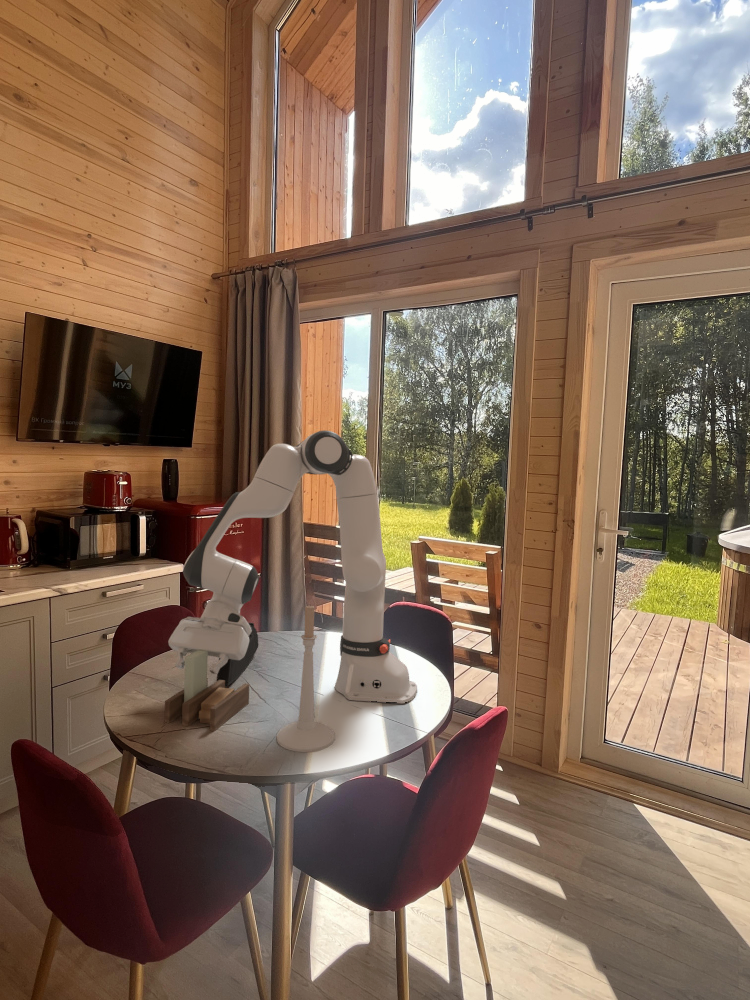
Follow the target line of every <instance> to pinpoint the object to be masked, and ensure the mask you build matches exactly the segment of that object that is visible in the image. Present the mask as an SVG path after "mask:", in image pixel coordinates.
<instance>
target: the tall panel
mask: <svg viewBox="0 0 750 1000" xmlns="http://www.w3.org/2000/svg"><path fill="white" fill-rule="evenodd" d="M208 657H209V656H208V651H203V650H197V651H195V652H193V653H189V654H187V655H186V656H184V661H185V666H184V678H183V679H184V684H183V686H184V688H183V690H184V703H185V702H186V701H188V700H189V699H191V698H192V697H194V696H195V695H197V694H198V693H200V692H201V691H203V690H204V689H206V688H207V687H208V686H207V678H208V662H209V661H208Z"/></svg>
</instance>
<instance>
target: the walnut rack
mask: <svg viewBox="0 0 750 1000" xmlns="http://www.w3.org/2000/svg"><path fill="white" fill-rule="evenodd" d="M208 679H209V678H208V677H207V688H206V689H204V690H203V691H201V692H200V693H198V694H197V695H195V696H194V697H192V698H191V699H189V700H188V701H186V702H185V703H184V689H182V690H181V691H179V692H177V693H176V694H174V695H173V696H171V697H169V698H168V699H166V700H164V723H166V722H167V724H169V723H171V722H173V721H174V720H176V719H177V718H179V717H180V716H181V726H184V727H189V726H191V725H192V724H193V723H195V722H196V721H197V720H200V718H199V711H200V710H201V703H202V702H203V701H204V700H205V699H207V698H208V697H209V696H210V695H211V694H212V693H213V692H215V691H216V690H217V689H218V688H219V687H221V688H226V687H225V680H218V681H217V680H216V681H217V682H216V681H215V682H214V683H212V684H210V685H209V686H208V683H209V681H208ZM249 704H250V684H249V683H243V684H242V685H241V686H239V687H238V688H237V689H236V690H235V689H234V692H232V693H231V694H230V695H228V696H227V697H226V698H224V699H223V700H221V701H220V702H219V703H217V704H216V705H215V706H213V707H212V708H210V723H209V731H212V732H216V731H217V730H218V729H219V728H221V727H222V726H223V725H224V724H226V723H227V722H228V721H229V720H231V718H233V717H234V716H235V715H236V714H238V713H239V712H240V711H241V710H243V709H244V708H246V706H247V705H249ZM181 714H182V715H181Z"/></svg>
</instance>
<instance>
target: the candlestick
mask: <svg viewBox="0 0 750 1000" xmlns="http://www.w3.org/2000/svg"><path fill="white" fill-rule="evenodd" d="M314 628H315V606H314V605H306V606H305V608H304V634H302V635H300V639H302V645H303V646H304V652H303V663H302V674H301V687H300V698H299V709H298V720H297V721H294V722H291V723H288V724H286V725H285V726H283V727H281V728H280V730H278V732H277V734H276V742H277V744H278V745H280V746H281V747H282V748H284V749H285V750H288V751H291V752H292V751H293V752H298V753H309V752H317V751H321V750H324V749H326V748H329V747H330V746H332V744H333V743H334V742H335V740H336V733H335V731H334V730H333V728H331V727H330V726H329V725H328V724H325V723H323V722H320V721H316V720H315V696H314V695H315V690H314V689H315V687H314V686H315V683H314V680H315V679H314V652H313V649H314V646H315V644H316V642H315V640H316V639H317V638H318V636H317V634H315V633H314V631H315V629H314Z"/></svg>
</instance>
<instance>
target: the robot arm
mask: <svg viewBox="0 0 750 1000" xmlns="http://www.w3.org/2000/svg"><path fill="white" fill-rule="evenodd" d="M305 474H306V475H307V474H309V475H328V476H330V478H331V479H332V481H333V484H334V486H335V497H336V504H337V505H336V507H337V514H338V521H339V523H338V524H339V535H340V539H339V541H340V555H341V569H342V576H343V578H344V580H345V589H344V598H343V599H344V601H343V606H342V607H343V609H342V610H343V611H342V613H343V614H342V615H343V616H342V634H341V636H340V641H339V652H340V654H339V656H340V664H339V668H338V669H339V670H338V674H337V678H336V681H335V683H334V688H335V690H336V691H337V692H338V693H340V694H341V695H343V696H344V697H345V699H346V700H349V701H357V702H358V701H359V702H371V701H377V702H376V703H386V702H397V703H396V704H406V703H405V702H407V703H409V702H411V701H412V700H413V699H414V698H415V697H416V696H417V694H416V693H418V685H417V684H416V682H414V681H411V680H410V673H409V669H408V667H407V665H406V664H405V663H404V662H403V661H401V660H400V659H399V658H398V657H396V656H395V655H394V654H393V653H392V652H391V651H390V645H391V638H390V639H387V638H385V636H384V635H383V634H384V616H385V615H384V611H385V610H384V609H385V593H386V592H385V591H386V572H387V571H386V570H387V559H386V556H385V554H384V550H383V539H382V527H381V526H382V525H381V515H380V508H379V499H378V491H377V484H376V483H377V482H376V479H375V476H374V475H375V474H374V472H373V468H372V465H371V462H370V460H369V459H368V458H367V457H365V456H364V455H360V454H357V453H356V454H353V452H352V451H351V450H350V448H349V446H348V445H347V443H346V442H345V441H344V439H343V438H342V436H340V435H339V434H338V433H336V432H334V431H331V430H327V429H326V430H319V431H317V432H316V431H315V432H314V433H312V434H309V435H308V436H307V437H306V438H305V439H304V440H303V441H301V442H300V443H299V444H298V445H296V446H292V445H290V444H288V443H275V444H274V445H271V446H270V448H269V449H268V450H267V452H266V454H265V455H264V456H263V458H262V460H261V461H260V463H259V465H258V467H257V470H256V472H255V474H254V477H253V479H252V480H251V482H250V483H249V485H248V486H247V487H246V488H245V489H244V490H242V491H239V492H238V491H236V492H235V493H233V494H232V495H231V496H230V497H229V498H228V499H227V501H226V502H225V503H224V505H223V506H222V508H221V510H220V511H219V512H218V514H217V515H216V517H215V518H214V520H213V522H212V523H211V524H210V526H209V527H208V530H207V531H206V532H205V534H204V535H203V537H202V539H201V540H200V542H199V543H198V545H197V546H196V547H195V548H194V550H193V551H191V553H190V554H189V556H188V557H187V559H186V560H185V563H184V565H183V568H182V573H183V577H184V578H185V580H186V582H187V583H188V585H189V586H192V587H197V588H201V589H205V590H207V591H210V592H212V593H213V594H212V596H211V599H209V601H208V602H207V604H206V606H205V608H204V610H203V612H202V614H201V616H200V617H194V616H186V617H185V618H182V619H181V620H180V621H179V623H178V625H177V626H176V627H175V629H174V630H173V632H172V633H171V635H170V637H169V639H168V646H169V647H170V649H172V651H174V652H177V655H176V656H177V661H176V662H175V667H176V668H177V669H180V670H183V669H185V659H184V657H186V656H187V655H188V654H191V653H193V652H195V651H197V650H203V651H208V657H212V658H213V657H215V658H218V661H216V663H212V664H211V665H210V666H211V667H210V668H209V672H210V673H211V674H213V675H217V674H218V672H219V670H220V668H221V667H222V666H224V665H225V664H226V663H227V661H228V659H233V660H241V659H242V658H243V657H244V656H245V654H246V651H247V648H248V645H249V637H248V636H249V635H250V634H251V632H252V630H251V627H250V625H249V624H248V623H249V622H248V621H247V619H246V618H245V617H244V616H243V615H241V609H242V607H243V606H244V604H246V603H249V602H250V601H252V598H253V595H254V592H255V591H256V588H257V586H258V584H259V581H260V576H259V573H258V570H257V568H256V567H255V566H253V565H251V564H250V563H248V562H245V561H243V560H239V559H236V558H233V557H231V556H228V555H226V554H223V553H221V552H219V551H218V550H217V546H218V545H219V543H220V542H221V540H222V539H223V537H224V536H225V534H226V532H227V531H228V530H229V528H230V526H231V525H232V524H233V523H234V522H236V521H238V520H240V519H248V518H251V519H252V518H253V519H254V518H256V519H257V518H258V519H264V518H265V519H267V518H268V519H269V518H272V517H273V518H274V517H277V516H279V515H281V514H282V513H283V512H285V510H287V508H288V507H289V504H290V503H291V500H292V498H293V496H294V494H295V491H296V489H297V486H298V483H299V482H300V480H301V479H302V477H303V476H304V475H305ZM219 658H220V660H219ZM415 695H416V696H415ZM414 696H415V697H414ZM410 700H411V701H410ZM408 701H409V702H408Z"/></svg>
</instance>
